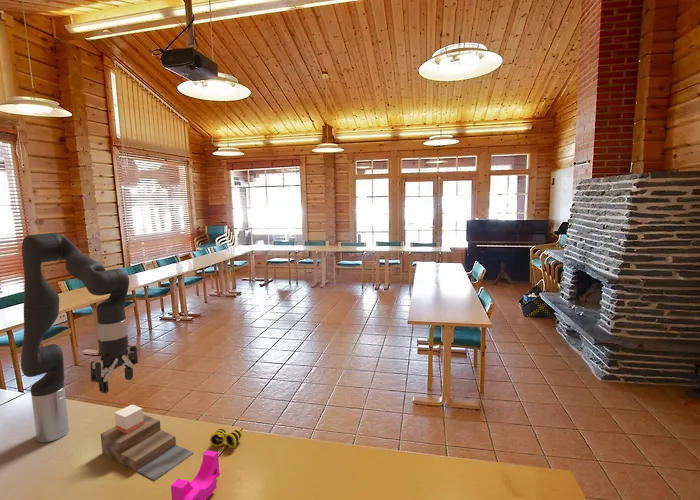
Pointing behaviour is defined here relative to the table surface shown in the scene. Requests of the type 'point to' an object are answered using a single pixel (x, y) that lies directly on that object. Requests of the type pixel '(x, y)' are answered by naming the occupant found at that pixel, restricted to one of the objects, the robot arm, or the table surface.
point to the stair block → (144, 448)
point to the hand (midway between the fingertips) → (117, 385)
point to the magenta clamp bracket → (198, 480)
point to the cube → (129, 418)
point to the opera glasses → (225, 437)
